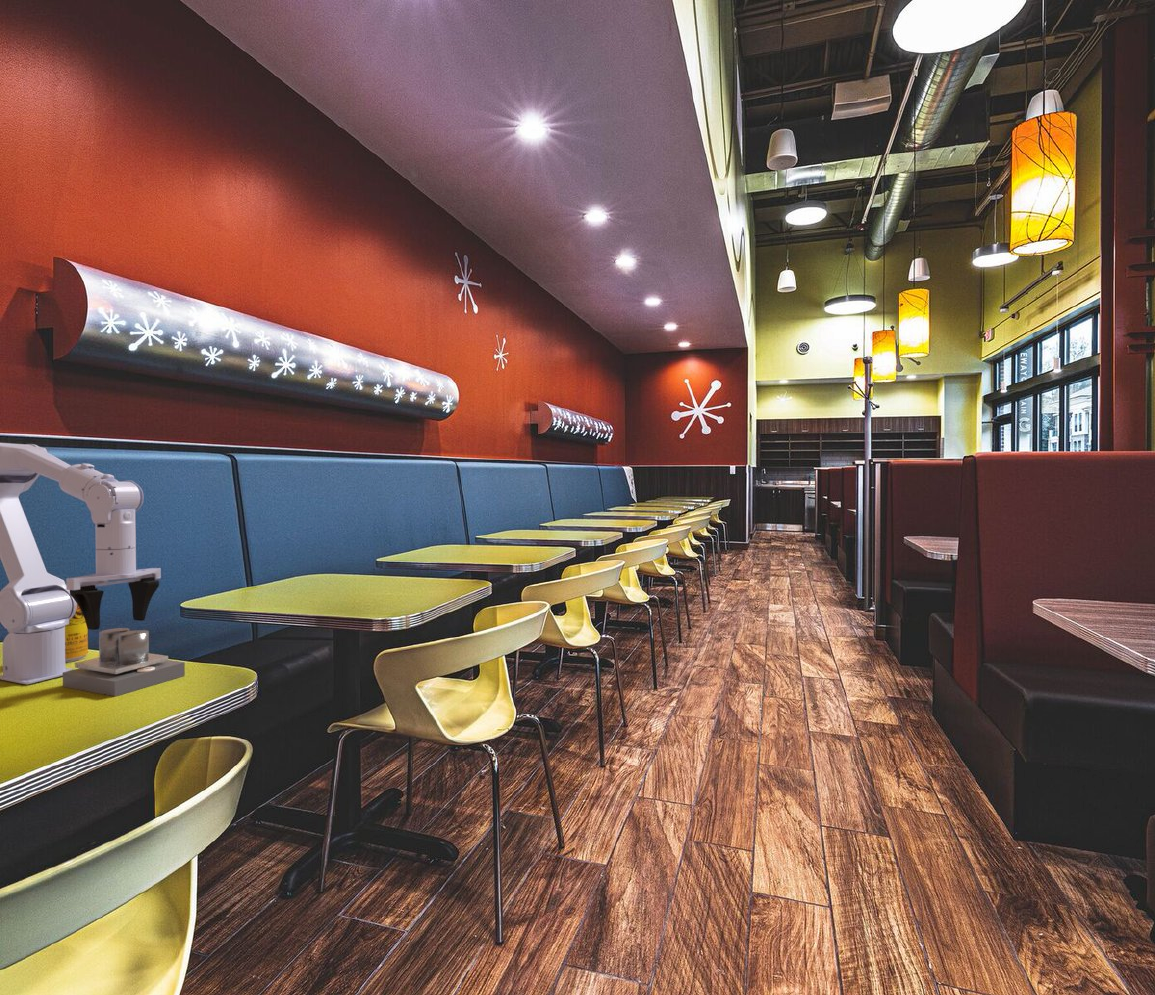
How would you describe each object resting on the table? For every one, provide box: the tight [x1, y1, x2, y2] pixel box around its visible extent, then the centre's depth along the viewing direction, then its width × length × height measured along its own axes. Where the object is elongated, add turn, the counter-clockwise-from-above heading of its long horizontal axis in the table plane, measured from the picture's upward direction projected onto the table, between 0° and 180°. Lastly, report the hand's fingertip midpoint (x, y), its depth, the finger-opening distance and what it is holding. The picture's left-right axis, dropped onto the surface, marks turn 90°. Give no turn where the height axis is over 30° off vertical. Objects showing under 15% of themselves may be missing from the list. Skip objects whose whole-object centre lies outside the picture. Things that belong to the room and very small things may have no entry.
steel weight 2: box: [118, 629, 150, 665], centre depth 108 cm, size 4×4×5 cm
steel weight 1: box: [98, 627, 131, 662], centre depth 110 cm, size 4×4×5 cm
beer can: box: [65, 604, 89, 664], centre depth 123 cm, size 6×6×15 cm
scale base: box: [62, 659, 186, 697], centre depth 109 cm, size 14×12×3 cm
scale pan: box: [74, 652, 169, 674], centre depth 109 cm, size 11×9×1 cm
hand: (116, 624), depth 108 cm, fingers open, 7 cm apart
